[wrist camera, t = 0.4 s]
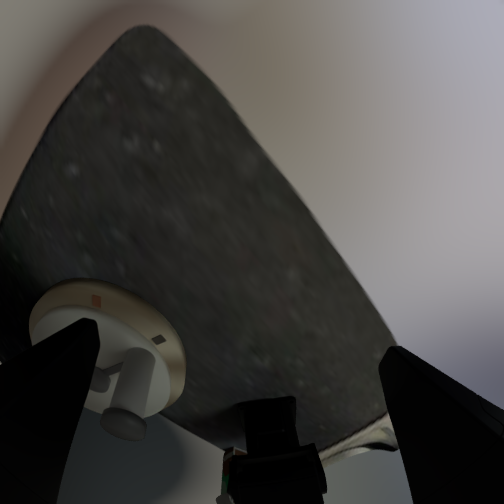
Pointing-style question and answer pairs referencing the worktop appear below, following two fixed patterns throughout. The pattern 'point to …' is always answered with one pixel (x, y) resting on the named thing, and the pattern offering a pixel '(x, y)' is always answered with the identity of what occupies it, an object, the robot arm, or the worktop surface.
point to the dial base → (124, 309)
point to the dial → (117, 371)
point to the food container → (227, 475)
